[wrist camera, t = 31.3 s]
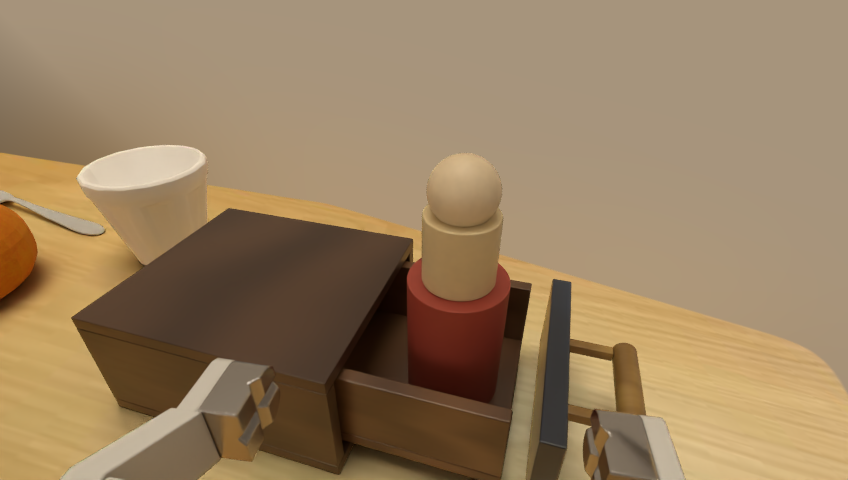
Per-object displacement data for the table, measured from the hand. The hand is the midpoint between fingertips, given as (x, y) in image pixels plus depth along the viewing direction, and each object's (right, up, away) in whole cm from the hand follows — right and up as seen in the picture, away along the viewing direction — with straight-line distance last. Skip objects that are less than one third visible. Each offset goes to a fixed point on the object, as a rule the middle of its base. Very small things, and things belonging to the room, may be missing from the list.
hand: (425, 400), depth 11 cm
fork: (-45, +7, +39) cm, 60 cm away
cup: (-25, +3, +32) cm, 41 cm away
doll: (+2, -5, +17) cm, 18 cm away
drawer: (+3, -6, +17) cm, 18 cm away
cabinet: (-10, -4, +21) cm, 24 cm away
